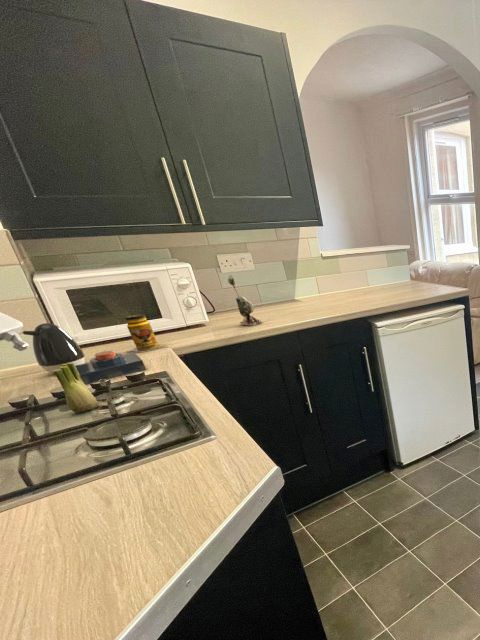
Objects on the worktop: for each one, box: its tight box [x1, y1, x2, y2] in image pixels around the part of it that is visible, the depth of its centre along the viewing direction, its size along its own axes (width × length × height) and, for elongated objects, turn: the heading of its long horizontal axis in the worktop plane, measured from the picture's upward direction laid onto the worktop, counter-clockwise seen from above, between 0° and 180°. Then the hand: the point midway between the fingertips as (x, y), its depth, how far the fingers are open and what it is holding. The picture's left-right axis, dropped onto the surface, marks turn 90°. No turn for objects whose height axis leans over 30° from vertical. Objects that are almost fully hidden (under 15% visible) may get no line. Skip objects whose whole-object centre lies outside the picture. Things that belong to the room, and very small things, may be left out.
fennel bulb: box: [53, 363, 99, 414], centre depth 101 cm, size 6×5×12 cm
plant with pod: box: [227, 274, 262, 327], centre depth 169 cm, size 8×11×20 cm
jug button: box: [94, 350, 116, 360], centre depth 125 cm, size 4×4×2 cm
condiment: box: [124, 313, 164, 353], centre depth 146 cm, size 7×8×12 cm
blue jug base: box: [75, 352, 147, 386], centre depth 126 cm, size 14×12×5 cm
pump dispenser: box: [22, 322, 85, 375], centre depth 127 cm, size 10×10×15 cm
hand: (6, 354), depth 96 cm, fingers open, 8 cm apart
